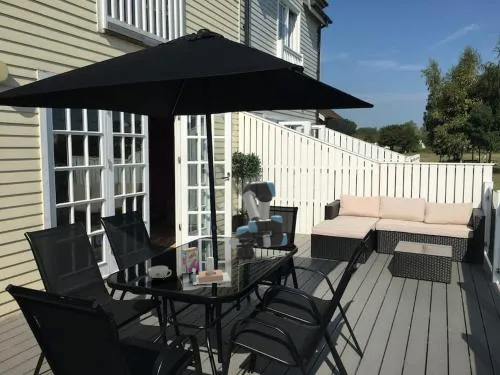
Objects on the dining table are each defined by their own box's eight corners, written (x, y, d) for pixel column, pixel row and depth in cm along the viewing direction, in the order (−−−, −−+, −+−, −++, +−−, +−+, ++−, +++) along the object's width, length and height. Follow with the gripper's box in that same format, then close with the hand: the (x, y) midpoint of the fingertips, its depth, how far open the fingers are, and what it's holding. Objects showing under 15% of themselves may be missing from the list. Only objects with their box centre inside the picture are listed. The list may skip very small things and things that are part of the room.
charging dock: (192, 277, 278) (191, 266, 277) (227, 273, 281) (226, 263, 280) (193, 285, 258) (192, 274, 257) (230, 282, 261) (230, 270, 261)
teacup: (145, 283, 269) (144, 270, 269) (152, 277, 282) (151, 265, 281) (168, 282, 267) (167, 270, 267) (174, 277, 280) (173, 265, 279)
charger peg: (207, 277, 271) (206, 257, 270) (214, 276, 272) (213, 256, 271) (207, 279, 267) (206, 258, 266) (214, 278, 268) (213, 258, 267)
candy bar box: (186, 274, 285) (185, 250, 284) (182, 273, 288) (180, 249, 287) (200, 270, 292) (198, 247, 291) (195, 269, 296) (194, 246, 295)
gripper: (266, 251, 261) (232, 254, 258) (259, 243, 285) (228, 245, 282) (266, 239, 260) (231, 242, 257) (259, 232, 285) (227, 234, 282)
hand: (229, 244), depth 270 cm, fingers open, 13 cm apart
